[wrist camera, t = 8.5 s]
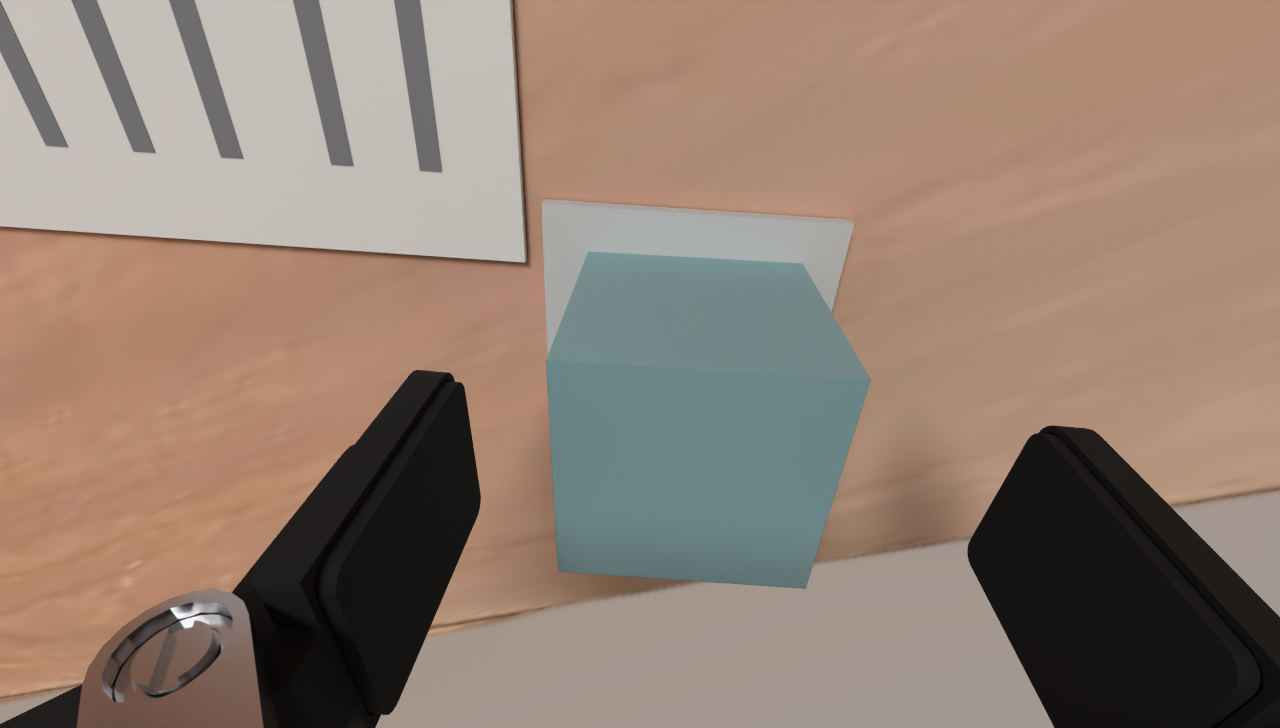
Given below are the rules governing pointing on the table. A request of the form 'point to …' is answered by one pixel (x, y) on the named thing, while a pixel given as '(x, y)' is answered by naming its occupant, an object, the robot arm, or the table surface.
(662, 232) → the mat
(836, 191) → the table surface
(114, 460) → the table surface
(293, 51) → the letter
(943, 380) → the table surface
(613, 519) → the teal block
